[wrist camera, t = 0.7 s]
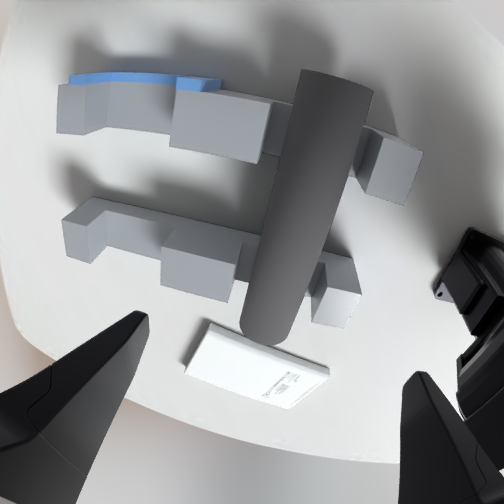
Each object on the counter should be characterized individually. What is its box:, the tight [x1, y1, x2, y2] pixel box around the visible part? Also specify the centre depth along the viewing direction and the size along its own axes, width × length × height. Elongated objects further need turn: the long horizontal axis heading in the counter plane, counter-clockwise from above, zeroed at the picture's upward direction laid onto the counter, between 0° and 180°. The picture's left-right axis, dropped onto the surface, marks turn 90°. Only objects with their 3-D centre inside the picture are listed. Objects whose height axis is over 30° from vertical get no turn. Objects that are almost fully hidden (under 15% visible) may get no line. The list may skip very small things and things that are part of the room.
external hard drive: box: [184, 323, 330, 409], centre depth 29 cm, size 2×8×12 cm
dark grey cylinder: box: [239, 69, 373, 345], centre depth 16 cm, size 4×16×4 cm, turn 169°
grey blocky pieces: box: [56, 72, 423, 329], centre depth 17 cm, size 20×13×4 cm, turn 79°
